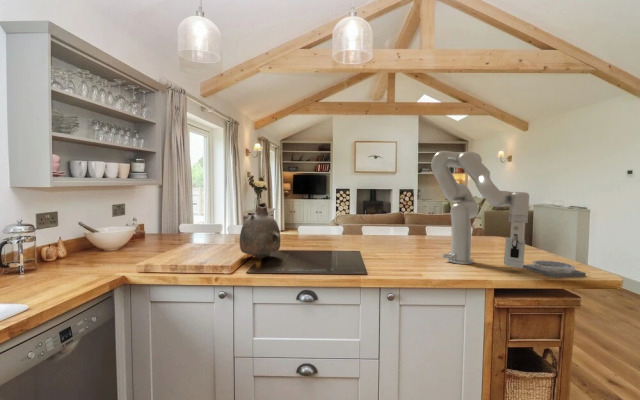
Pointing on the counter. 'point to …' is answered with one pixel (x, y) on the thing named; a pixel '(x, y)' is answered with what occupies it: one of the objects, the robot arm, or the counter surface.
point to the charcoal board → (553, 274)
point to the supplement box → (510, 260)
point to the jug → (260, 234)
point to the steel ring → (567, 267)
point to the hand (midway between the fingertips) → (515, 255)
